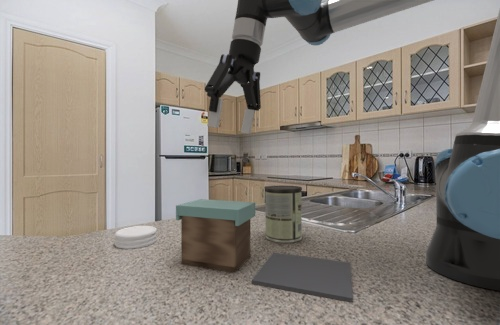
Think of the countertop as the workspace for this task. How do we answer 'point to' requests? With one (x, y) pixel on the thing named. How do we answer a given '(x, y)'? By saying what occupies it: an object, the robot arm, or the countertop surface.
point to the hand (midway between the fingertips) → (230, 130)
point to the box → (214, 243)
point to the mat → (307, 276)
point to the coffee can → (283, 213)
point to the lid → (217, 210)
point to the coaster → (135, 237)
